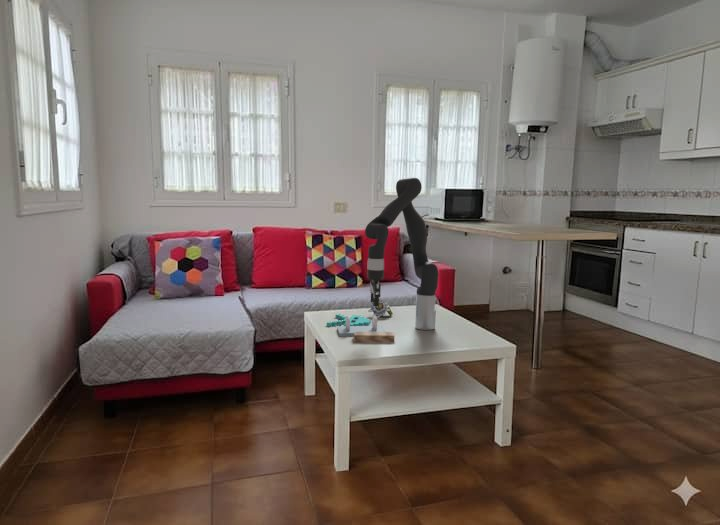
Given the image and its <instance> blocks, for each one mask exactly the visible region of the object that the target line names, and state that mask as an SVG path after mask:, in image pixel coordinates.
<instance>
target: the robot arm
mask: <svg viewBox="0 0 720 525" xmlns="http://www.w3.org/2000/svg"><path fill="white" fill-rule="evenodd" d="M422 188H423V187H422V182H421V180H420V179H419V178H418V177H407V178H406V177H405V178H402V179H398V180H397V182H396V183H395V191H396V195H397V198H395V199H394V200H392V201H390V202H389V203H388V204H387V205H386V206H385V207H383V208H384V209H383V210H382V211H381V212H380V214H379V215H377V216H376V217H375V218H373V219H372V220H370V222H369V223H368V224H367V225H366V226H365V229H364V235H365V237H366V238H368V239H370V240H376V242H375V244H371V245H369V246H368V252H367V264H366V266H367V267H366V268H367V269H366V278H367V280H369V293H370V302H372V303H373V302H374V306H379V299H380V298H381V286H382V284H381V283H380V281H381V280H384V279H385V248H386V245H387V241H388V238H389V232H390V231H389V228H390V227H391V226H392V225H393V223H394V222H395V221H396V219H397V218H398V217H399V215H400V214H401V213H402V215H403V219H404V222H405V226H406V227H405V228H406V232H407V235H408V236H407V237H408V240H409V245H410V248H411V253H412V260H413V261H412V262H413V268H414V274H415V276H416V277H417V278H418V279H420V286H419V287H417V289H416V297H415V298H416V301H415V302H416V303H415V304H416V305H415V322H414V323H415V326H414V327H415V329H418V330H420V331H421V330H422V331H424V330H425V331H431V330H436V321H437V320H436V315H437V310H436V291H437V289H438V284H439V282H438V281H439V268H438V266H437V265H436V264H434V263H433V262H430V261H429V258H428V255H427V241H428V231H427V226H426V222H425V221H424V219H423V217H422V216H421V214H420V213H419V212H418V211H417V210H416V209H415V207H414V204H413V200H415V199H416V198H417V197H418V196H419V195H420V194H421V191H422ZM388 227H389V228H388Z"/></svg>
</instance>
